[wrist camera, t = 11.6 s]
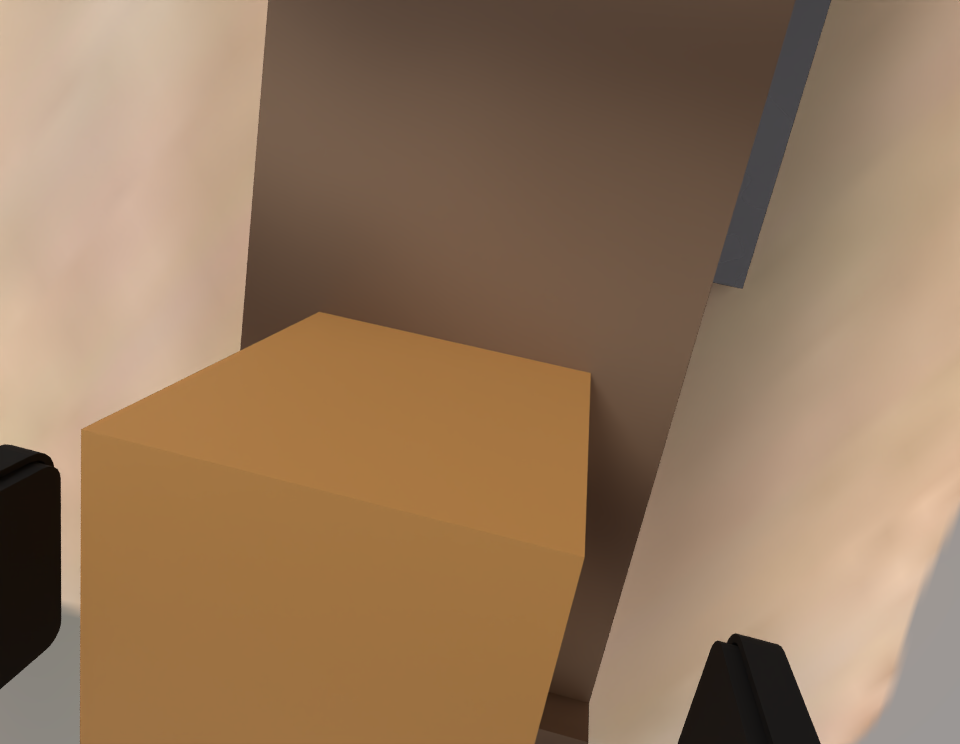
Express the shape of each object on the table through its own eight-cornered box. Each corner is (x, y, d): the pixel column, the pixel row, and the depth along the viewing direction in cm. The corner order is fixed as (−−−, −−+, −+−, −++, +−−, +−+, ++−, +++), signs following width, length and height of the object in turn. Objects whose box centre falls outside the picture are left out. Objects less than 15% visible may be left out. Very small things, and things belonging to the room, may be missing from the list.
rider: (319, 311, 12) (81, 429, 7) (590, 373, 12) (585, 556, 6) (287, 588, 14) (79, 866, 8) (521, 652, 14) (467, 993, 8)
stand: (356, -225, 16) (239, -423, 11) (867, -154, 15) (1016, -338, 10) (284, 447, 22) (181, 536, 16) (656, 540, 21) (678, 669, 15)
